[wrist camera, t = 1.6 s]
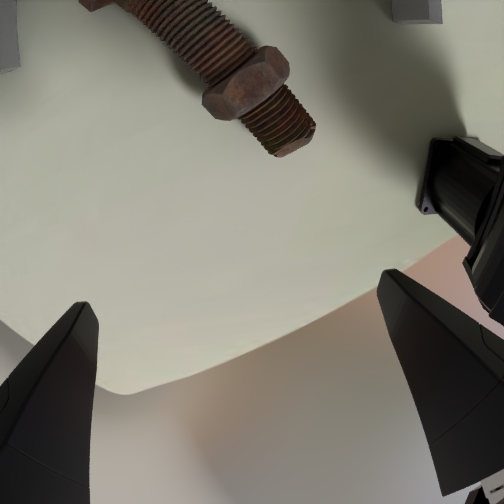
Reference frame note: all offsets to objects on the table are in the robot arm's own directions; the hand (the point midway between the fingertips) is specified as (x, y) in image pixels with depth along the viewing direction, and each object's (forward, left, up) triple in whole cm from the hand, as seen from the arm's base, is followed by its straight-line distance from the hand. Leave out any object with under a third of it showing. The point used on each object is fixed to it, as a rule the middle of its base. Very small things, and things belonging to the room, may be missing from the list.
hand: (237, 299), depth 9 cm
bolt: (+7, 0, -13) cm, 15 cm away
